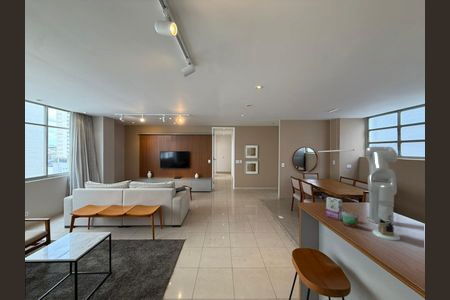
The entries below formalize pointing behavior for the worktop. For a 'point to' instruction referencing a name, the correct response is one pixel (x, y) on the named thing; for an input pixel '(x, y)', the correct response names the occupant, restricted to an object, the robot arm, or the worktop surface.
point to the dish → (393, 238)
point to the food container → (350, 219)
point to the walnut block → (384, 229)
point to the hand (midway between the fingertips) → (385, 228)
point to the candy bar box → (334, 208)
